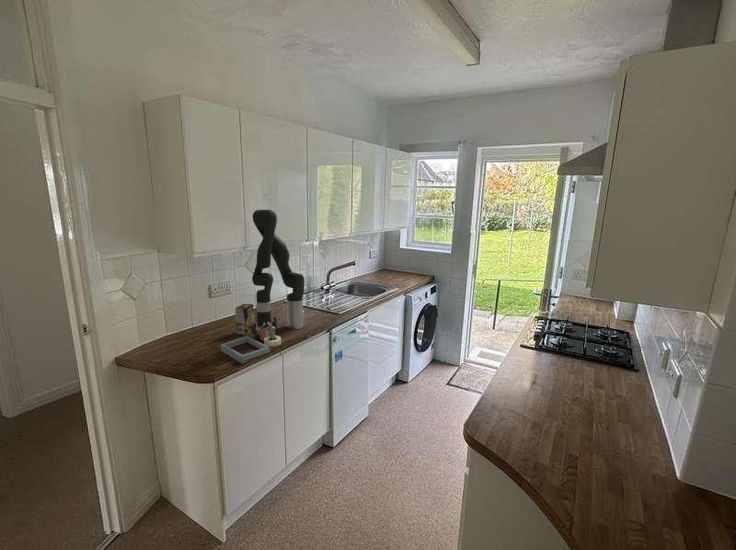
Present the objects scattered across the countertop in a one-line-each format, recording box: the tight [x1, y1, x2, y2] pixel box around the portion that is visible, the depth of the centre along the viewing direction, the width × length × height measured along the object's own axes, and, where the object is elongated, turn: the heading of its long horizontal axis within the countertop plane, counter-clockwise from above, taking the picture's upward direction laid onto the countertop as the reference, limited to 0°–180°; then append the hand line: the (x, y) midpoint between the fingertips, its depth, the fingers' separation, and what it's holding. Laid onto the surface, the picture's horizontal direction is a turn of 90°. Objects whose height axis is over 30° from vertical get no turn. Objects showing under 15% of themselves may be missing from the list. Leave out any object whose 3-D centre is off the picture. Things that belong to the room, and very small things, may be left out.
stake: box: [262, 326, 283, 348], centre depth 189 cm, size 10×10×10 cm
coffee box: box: [234, 303, 255, 336], centre depth 203 cm, size 9×6×16 cm
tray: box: [220, 336, 271, 365], centre depth 179 cm, size 15×20×4 cm
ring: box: [259, 328, 282, 347], centre depth 191 cm, size 9×13×5 cm, turn 49°
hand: (264, 338), depth 194 cm, fingers open, 8 cm apart
